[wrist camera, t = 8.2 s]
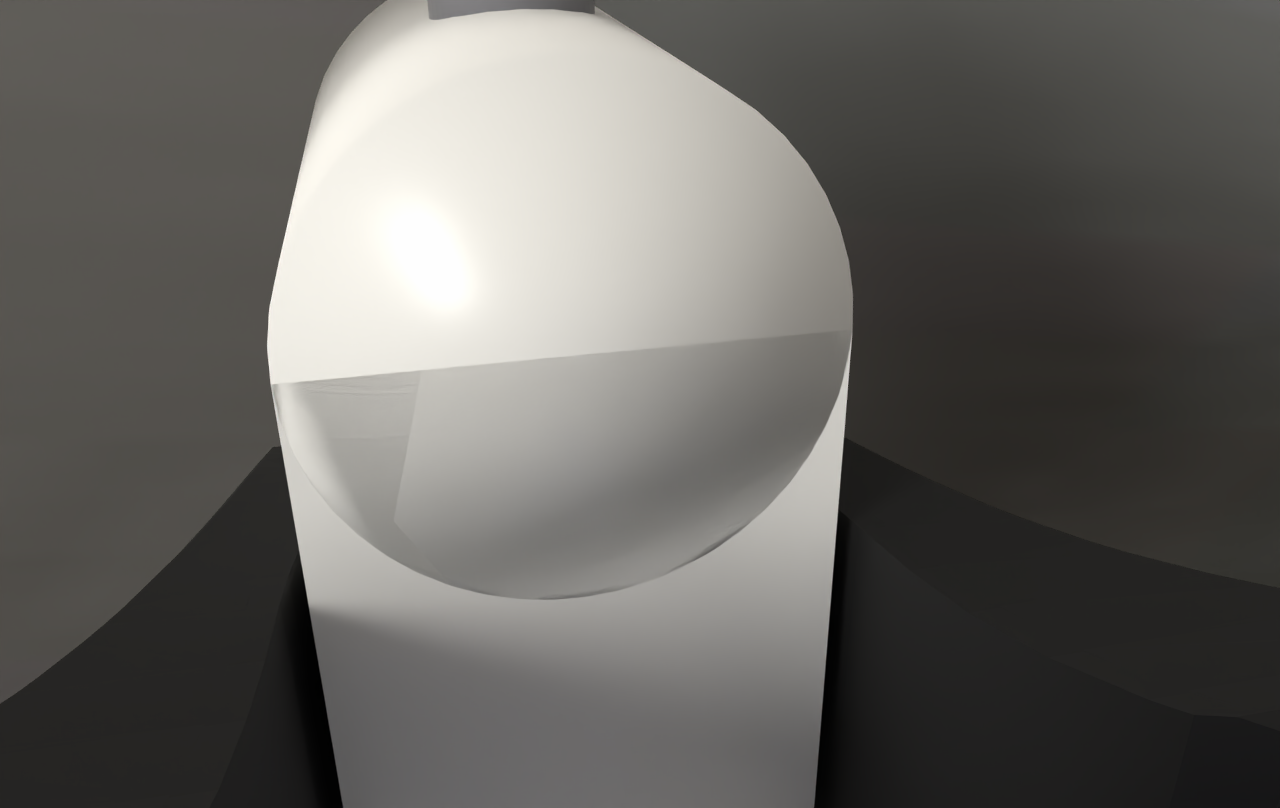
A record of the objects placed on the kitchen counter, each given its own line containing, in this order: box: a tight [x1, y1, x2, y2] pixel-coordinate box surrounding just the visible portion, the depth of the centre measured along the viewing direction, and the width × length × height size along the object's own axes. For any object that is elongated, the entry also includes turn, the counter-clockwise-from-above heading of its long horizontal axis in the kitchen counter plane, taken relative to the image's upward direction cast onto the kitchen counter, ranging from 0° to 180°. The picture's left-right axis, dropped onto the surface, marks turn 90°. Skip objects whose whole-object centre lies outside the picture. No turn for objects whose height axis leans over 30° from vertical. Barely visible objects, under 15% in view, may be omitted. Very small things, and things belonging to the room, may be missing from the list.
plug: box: [267, 0, 853, 808], centre depth 10 cm, size 13×4×5 cm, turn 1°
